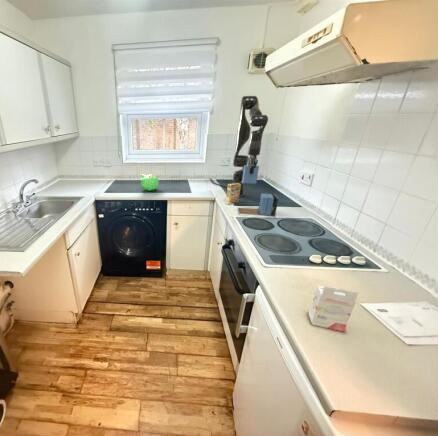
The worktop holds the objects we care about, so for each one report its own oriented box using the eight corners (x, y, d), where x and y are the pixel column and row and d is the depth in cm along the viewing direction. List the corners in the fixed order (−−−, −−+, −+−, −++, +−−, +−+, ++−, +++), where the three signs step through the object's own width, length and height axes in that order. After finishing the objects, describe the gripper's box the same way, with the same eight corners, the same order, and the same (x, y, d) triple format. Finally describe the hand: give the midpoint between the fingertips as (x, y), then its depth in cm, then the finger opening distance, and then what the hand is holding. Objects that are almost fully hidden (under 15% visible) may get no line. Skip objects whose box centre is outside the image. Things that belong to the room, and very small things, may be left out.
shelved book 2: (263, 210, 165) (266, 193, 160) (267, 210, 164) (271, 194, 159) (265, 215, 157) (268, 197, 152) (270, 215, 156) (274, 198, 151)
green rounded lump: (158, 192, 209) (159, 176, 204) (139, 192, 210) (139, 176, 204) (158, 187, 226) (158, 172, 220) (140, 187, 226) (140, 172, 221)
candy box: (228, 204, 179) (231, 185, 173) (225, 203, 183) (227, 183, 177) (238, 203, 181) (241, 184, 175) (234, 201, 185) (237, 182, 179)
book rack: (237, 208, 170) (240, 191, 165) (271, 211, 165) (274, 193, 160) (239, 215, 160) (242, 196, 155) (274, 218, 154) (279, 199, 149)
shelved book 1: (258, 209, 166) (261, 193, 161) (262, 210, 165) (265, 193, 160) (260, 214, 158) (263, 197, 153) (265, 214, 157) (268, 197, 152)
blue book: (241, 182, 169) (244, 165, 165) (254, 182, 169) (257, 165, 164) (242, 183, 167) (245, 166, 162) (256, 183, 166) (259, 166, 161)
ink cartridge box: (338, 320, 76) (353, 283, 70) (344, 332, 72) (360, 293, 66) (307, 313, 79) (319, 276, 73) (311, 324, 75) (324, 286, 69)
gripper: (264, 148, 151) (259, 175, 158) (256, 146, 164) (252, 171, 171) (252, 148, 152) (248, 175, 159) (245, 146, 165) (241, 171, 172)
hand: (250, 173), depth 165 cm, fingers closed on blue book, 3 cm apart
